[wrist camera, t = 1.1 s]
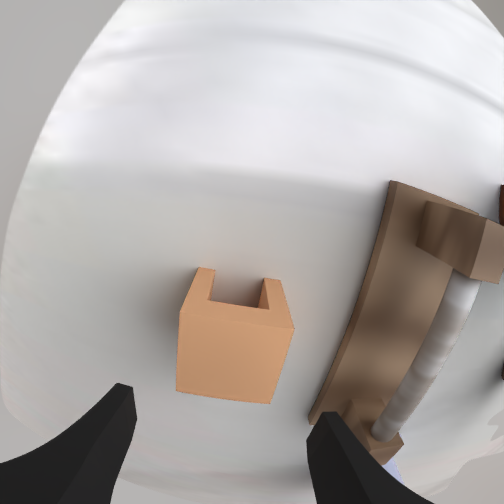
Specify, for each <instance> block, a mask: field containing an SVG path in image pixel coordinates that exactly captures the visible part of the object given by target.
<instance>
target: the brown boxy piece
mask: <svg viewBox="0 0 504 504" xmlns="http://www.w3.org/2000/svg"><path fill="white" fill-rule="evenodd" d="M503 269H504V226H502V225H500V224H498V223H496V222H493V221H491V220H489V219H487V218H484V217H481V216H479V214H478V213H476V212H474V211H472V210H470V209H467V208H465V207H463V206H460V205H458V204H456V203H453V202H451V201H448V200H446V199H443V198H441V197H438V196H436V195H433V194H431V193H428V192H425V191H423V190H420V189H417V188H415V187H412V186H409V185H406V184H403V183H400V182H397V181H390V185H389V189H388V194H387V199H386V203H385V207H384V211H383V216H382V220H381V224H380V227H379V231H378V235H377V239H376V242H375V246H374V249H373V253H372V256H371V260H370V263H369V266H368V270H367V273H366V276H365V279H364V282H363V285H362V288H361V291H360V294H359V297H358V300H357V303H356V306H355V309H354V311H353V314H352V317H351V320H350V322H349V325H348V327H347V330H346V333H345V335H344V338H343V340H342V343H341V345H340V348H339V350H338V353H337V355H336V357H335V360H334V362H333V364H332V367H331V369H330V371H329V374H328V376H327V378H326V380H325V382H324V385H323V387H322V389H321V391H320V393H319V395H318V397H317V399H316V401H315V404H314V406H313V408H312V410H311V412H310V414H309V416H308V420H309V424H310V425H315V424H316V422H317V421H318V419H319V417H320V415H321V413H322V412H334V411H336V412H337V413H338V414H339V415H340V417H341V418H342V419H343V421H344V422H345V423H346V425H347V426H348V427H349V429H350V430H351V431H352V432H353V434H354V435H355V436H356V437H357V439H358V440H359V441H360V442H361V444H362V445H363V446H364V447H365V448H366V450H367V451H368V452H369V453H370V454H371V455H372V456H373V458H374V459H375V460H376V461H377V462H378V463H379V464H380V465H385V464H386V463H387V462H388V461H389V460H390V459H391V458H392V457H393V456H394V455H395V454H396V453H397V452H398V450H399V449H400V448H401V447H402V446H403V445H404V443H403V441H402V439H401V437H400V434H399V432H398V431H399V430H400V428H401V427H402V426H403V425H404V423H405V422H406V421H407V419H408V418H409V417H410V415H411V414H412V412H413V411H414V410H415V408H416V407H417V405H418V404H419V403H420V401H421V400H422V398H423V397H424V395H425V394H426V392H427V390H428V389H429V387H430V386H431V384H432V383H433V381H434V379H435V378H436V376H437V374H438V373H439V371H440V369H441V368H442V366H443V364H444V362H445V361H446V359H447V357H448V355H449V353H450V351H451V350H452V348H453V346H454V344H455V342H456V340H457V338H458V336H459V334H460V332H461V330H462V327H463V325H464V323H465V321H466V319H467V317H468V314H469V312H470V310H471V307H472V305H473V302H474V300H475V297H476V295H477V292H478V290H479V287H480V284H481V282H482V281H486V282H491V283H496V284H499V281H500V278H501V275H502V272H503Z"/></svg>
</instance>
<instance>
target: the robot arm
mask: <svg viewBox="0 0 504 504" xmlns="http://www.w3.org/2000/svg"><path fill="white" fill-rule="evenodd" d="M136 421H137V414H136V408H135V401H134V393H133V387H131V386H127V385H124V384H120V383H117V384H115V385H114V386H113V387H112V388H111V390H110V391H109V392H108V393H107V394H106V395H105V396H104V397H103V398H102V399H101V400H100V401H99V402H98V403H97V404H95V405H94V406H93V407H92V408H91V409H90V410H89V411H88V412H87V413H86V414H85V415H83V416H82V417H81V418H80V419H79V420H78V421H76V422H75V423H74V424H73V425H71V426H70V427H69V428H67V429H66V430H65V431H64V432H62V433H61V434H59V435H58V436H57V437H55V438H54V439H52V440H50V441H49V442H47V443H46V444H44V445H42V446H40V447H39V448H36V449H35V450H33V451H31V452H29V453H27V454H24V455H22V456H20V457H17V458H14V459H12V460H9V461H6V462H3V463H0V504H110V502H111V496H112V493H113V489H114V485H115V482H116V479H117V477H118V474H119V472H120V469H121V466H122V464H123V461H124V459H125V456H126V453H127V451H128V448H129V446H130V443H131V441H132V437H133V433H134V429H135V425H136ZM400 437H402V436H401V434H400ZM306 443H307V457H308V464H309V469H310V474H311V479H312V483H313V488H314V492H315V497H316V501H317V504H434V503H432V502H430V501H428V500H426V499H424V498H423V497H421V496H419V495H418V494H416V493H415V492H413V491H412V490H410V489H408V488H407V487H406V486H405V485H404V482H403V480H402V477H401V475H400V473H399V470H398V468H397V465H396V463H395V461H394V458H393V457H392V458H391V459H390V460H389V461H388V462H387V463H386V464H385V465H380V464H379V463H378V462H377V461H376V460H375V459H374V458H373V456H372V455H371V454H370V453H369V452H368V451H367V450H366V448H365V447H364V446H363V445H362V444H361V442H360V441H359V440H358V439H357V437H356V436H355V435H354V434H353V432H352V431H351V430H350V429H349V427H348V426H347V425H346V423H345V422H344V421H343V419H342V418H341V417H340V415H339V414H338V413H337V412H336V411H334V412H322V413H321V415H320V417H319V419H318V421H317V422H316V424H315V426H314V428H313V429H312V431H311V433H310V435H309V436H308V438H307V440H306Z"/></svg>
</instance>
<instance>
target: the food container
mask: <svg viewBox="0 0 504 504" xmlns="http://www.w3.org/2000/svg"><path fill="white" fill-rule="evenodd" d="M499 222H500V225H502V226H504V185H501V191H500V197H499Z"/></svg>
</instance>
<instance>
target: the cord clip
mask: <svg viewBox="0 0 504 504" xmlns="http://www.w3.org/2000/svg"><path fill="white" fill-rule="evenodd" d="M214 275H215V270H213V269H207V268H201V267H199V268H198V270H197V273H196V275H195V277H194V280H193V282H192V284H191V287H190V289H189V291H188V294H187V296H186V298H185V301H184V303H183V306H182V308H181V310H180V317H179V332H178V349H177V371H176V391H179V392H184V393H189V394H194V395H200V396H206V397H213V398H219V399H227V400H234V401H243V402H253V403H264V404H270V402H271V399H272V397H273V394H274V391H275V388H276V385H277V382H278V379H279V376H280V373H281V370H282V367H283V364H284V361H285V358H286V355H287V352H288V349H289V345H290V342H291V339H292V336H293V332H294V326H293V322H292V319H291V315H290V312H289V308H288V305H287V301H286V298H285V295H284V291H283V288H282V284H281V281H280V280H274V279H268V278H264V282H263V286H262V291H261V296H260V300H259V305H258V308H253V307H247V306H240V305H234V304H227V303H221V302H215V301H211V296H212V289H213V282H214Z"/></svg>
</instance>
